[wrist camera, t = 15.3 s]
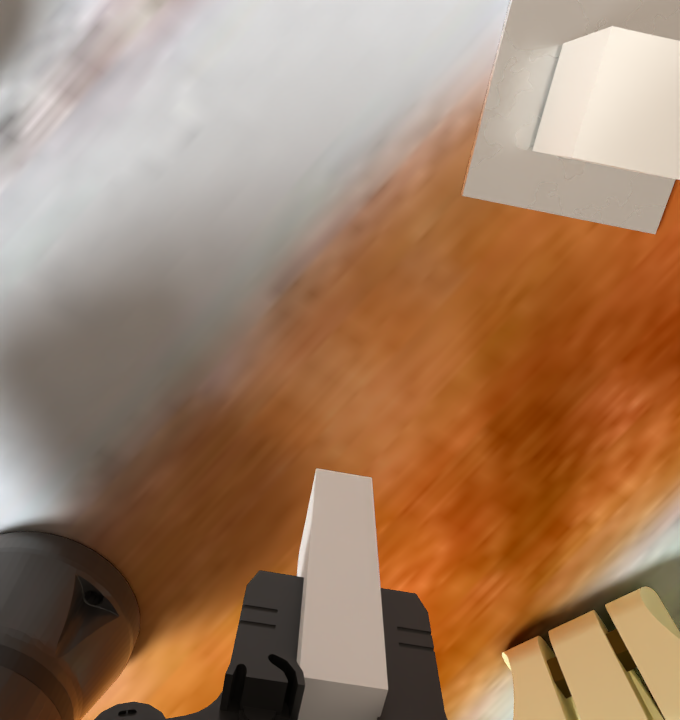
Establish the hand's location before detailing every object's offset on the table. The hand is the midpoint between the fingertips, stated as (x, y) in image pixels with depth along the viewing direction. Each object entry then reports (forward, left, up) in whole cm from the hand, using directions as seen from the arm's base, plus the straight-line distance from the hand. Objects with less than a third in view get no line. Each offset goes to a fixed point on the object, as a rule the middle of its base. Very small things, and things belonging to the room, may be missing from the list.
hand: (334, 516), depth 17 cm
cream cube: (+12, +13, -23) cm, 29 cm away
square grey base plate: (+12, +13, -24) cm, 30 cm away
